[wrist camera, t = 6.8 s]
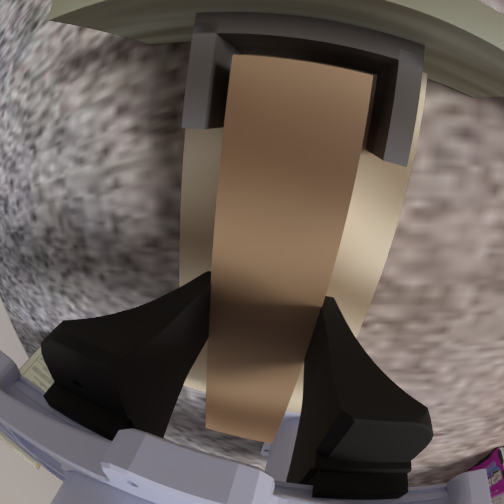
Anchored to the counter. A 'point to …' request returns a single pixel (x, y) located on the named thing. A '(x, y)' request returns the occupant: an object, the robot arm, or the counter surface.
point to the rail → (277, 230)
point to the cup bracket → (322, 52)
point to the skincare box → (40, 377)
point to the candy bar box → (494, 474)
